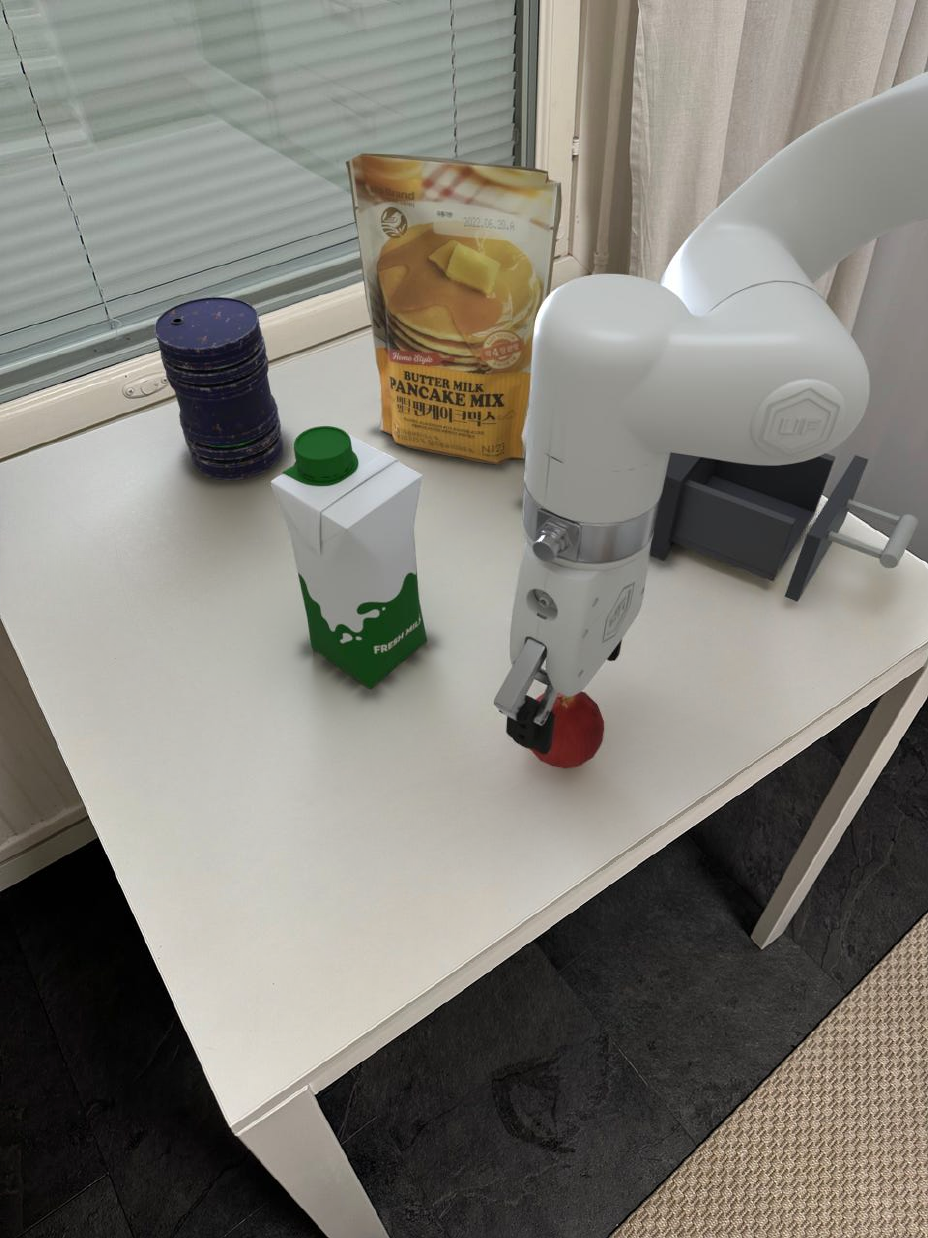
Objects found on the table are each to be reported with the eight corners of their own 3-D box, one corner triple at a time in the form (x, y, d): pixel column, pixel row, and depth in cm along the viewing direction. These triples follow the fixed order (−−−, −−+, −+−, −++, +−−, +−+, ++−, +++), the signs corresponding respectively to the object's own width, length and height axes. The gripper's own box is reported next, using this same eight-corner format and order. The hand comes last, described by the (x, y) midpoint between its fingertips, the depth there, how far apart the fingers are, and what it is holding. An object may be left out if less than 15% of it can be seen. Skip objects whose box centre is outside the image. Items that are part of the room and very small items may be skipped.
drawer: (907, 545, 82) (938, 482, 77) (866, 630, 75) (896, 567, 70) (709, 473, 90) (724, 411, 84) (654, 544, 83) (667, 481, 77)
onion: (544, 714, 71) (550, 648, 65) (611, 745, 69) (623, 679, 63) (509, 768, 67) (512, 703, 62) (578, 801, 65) (588, 738, 59)
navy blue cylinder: (294, 426, 98) (271, 298, 87) (272, 483, 91) (243, 351, 80) (206, 422, 98) (172, 294, 87) (177, 477, 92) (137, 346, 81)
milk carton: (368, 592, 80) (344, 402, 66) (443, 641, 76) (435, 449, 61) (295, 648, 76) (251, 458, 61) (371, 703, 72) (343, 513, 57)
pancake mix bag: (384, 406, 100) (360, 138, 80) (547, 438, 96) (567, 163, 75) (360, 440, 96) (328, 166, 75) (530, 475, 91) (545, 194, 71)
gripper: (572, 628, 44) (548, 811, 56) (714, 451, 53) (666, 640, 66) (446, 569, 46) (450, 755, 59) (602, 410, 56) (577, 599, 69)
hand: (564, 694), depth 62 cm, fingers open, 9 cm apart
